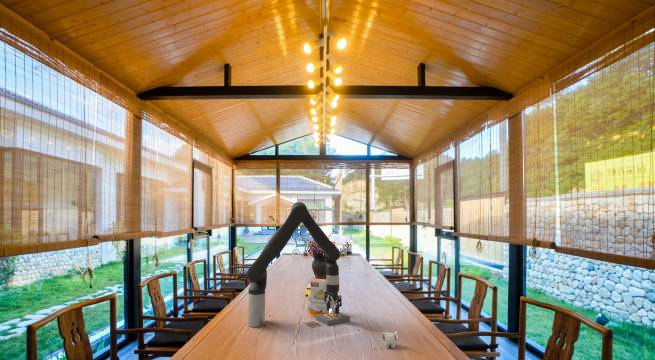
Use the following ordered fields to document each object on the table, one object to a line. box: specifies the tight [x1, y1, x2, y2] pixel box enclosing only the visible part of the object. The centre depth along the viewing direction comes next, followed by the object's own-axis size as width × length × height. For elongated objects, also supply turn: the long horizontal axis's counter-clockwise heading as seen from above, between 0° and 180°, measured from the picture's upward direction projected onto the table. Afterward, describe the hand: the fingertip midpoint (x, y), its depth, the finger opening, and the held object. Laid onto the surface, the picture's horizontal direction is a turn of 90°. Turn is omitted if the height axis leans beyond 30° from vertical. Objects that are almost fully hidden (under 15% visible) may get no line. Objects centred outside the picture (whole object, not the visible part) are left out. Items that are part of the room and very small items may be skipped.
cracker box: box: [309, 278, 335, 314], centre depth 226 cm, size 14×6×21 cm, turn 73°
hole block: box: [315, 311, 351, 326], centre depth 209 cm, size 12×15×4 cm
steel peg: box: [329, 308, 336, 318], centre depth 209 cm, size 4×4×8 cm
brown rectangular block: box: [302, 320, 324, 329], centre depth 202 cm, size 10×7×2 cm
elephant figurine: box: [381, 330, 399, 349], centre depth 175 cm, size 8×10×7 cm
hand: (332, 312), depth 209 cm, fingers open, 8 cm apart
